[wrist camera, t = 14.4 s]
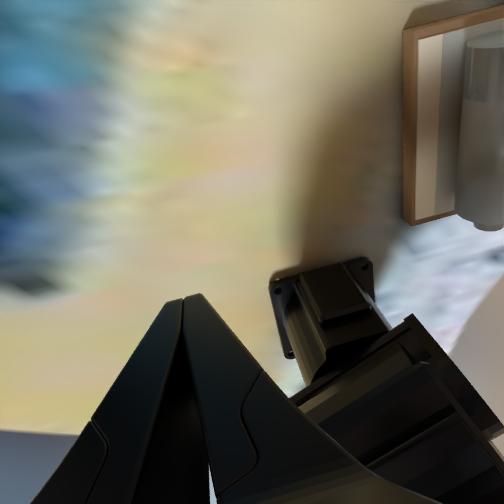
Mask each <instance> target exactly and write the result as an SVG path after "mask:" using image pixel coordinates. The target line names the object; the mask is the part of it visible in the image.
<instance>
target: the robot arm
mask: <svg viewBox="0 0 504 504" xmlns="http://www.w3.org/2000/svg"><path fill="white" fill-rule="evenodd" d="M363 264H366V265H365V266H363V267H361V266H362V265H363ZM276 288H280V289H279V290H278V291H274V290H275V289H276ZM269 294H270V298H271V302H272V307H273V311H274V315H275V319H276V324H277V328H278V332H279V336H280V341H281V345H282V349H283V353H284V356H285V358H287V359H294V358H296V360H297V363H298V366H299V368H300V371H301V374H302V377H303V379H304V382H305V385H306V387H305V388H304V389H302V390H301V391H299V392H298V393H296V394H295V395H293V396H292V397H290V398H288V397H287V396H286V395H285V394H284V393H283V391H282V390H281V389H280V388H279V387H278V386H277V385H276V384H275V382H274V381H273V380H272V379H271V378H270V376H269V375H268V374H267V373H266V372H265V371H264V369H263V368H262V367H261V366H260V364H259V363H258V362H257V361H256V359H255V358H254V357H253V356H252V355H251V353H250V352H249V351H248V350H247V348H246V347H245V346H244V345H243V344H242V342H241V341H240V340H239V339H238V337H237V336H236V335H235V334H234V332H233V331H232V330H231V329H230V328H229V326H228V325H227V324H226V323H225V321H224V320H223V319H222V318H221V317H220V315H219V314H218V313H217V312H216V310H215V309H214V308H213V307H212V306H211V304H210V303H209V302H208V301H207V299H206V298H205V297H204V296H203V295H202V294H201V293H198V294H194V295H191V296H187V297H185V298H184V299H182V298H180V299H176V300H173V301H169V302H167V303H165V305H164V306H163V308H162V309H161V311H160V312H159V314H158V315H157V317H156V318H155V320H154V321H153V323H152V325H151V326H150V328H149V329H148V331H147V332H146V334H145V335H144V337H143V338H142V340H141V341H140V343H139V345H138V346H137V348H136V349H135V351H134V352H133V354H132V355H131V357H130V358H129V360H128V362H127V363H126V365H125V366H124V368H123V369H122V371H121V372H120V374H119V375H118V377H117V379H116V380H115V382H114V383H113V385H112V386H111V388H110V389H109V391H108V392H107V394H106V396H105V397H104V399H103V400H102V402H101V403H100V405H99V406H98V408H97V409H96V411H95V412H94V414H93V416H92V417H91V421H89V422H88V423H87V425H86V426H85V428H84V429H83V431H82V432H81V434H80V435H79V437H78V438H77V440H76V441H75V443H74V444H73V446H72V447H71V449H70V450H69V452H68V453H67V455H66V456H65V457H64V459H63V461H62V462H61V463H60V465H59V466H58V467H57V469H56V470H55V471H54V473H53V474H52V475H51V477H50V478H49V480H48V481H47V482H46V484H45V485H44V486H43V488H42V489H41V490H40V492H39V493H38V494H37V496H36V497H35V498H34V500H33V501H32V502H31V503H30V504H210V490H209V467H210V472H211V477H212V482H213V487H214V492H215V496H216V499H217V504H504V457H503V456H502V454H501V453H500V452H499V450H498V449H497V447H496V446H495V445H494V443H493V442H492V441H491V440H493V439H494V438H496V437H498V436H500V435H501V434H503V433H504V426H503V424H502V423H501V422H500V420H499V419H498V418H497V416H496V415H495V414H494V413H493V412H492V410H491V409H490V407H489V406H488V405H487V404H486V402H485V401H484V400H483V399H482V397H481V396H480V395H479V394H478V392H477V391H476V390H475V389H474V387H473V386H472V385H471V383H470V382H469V381H468V380H467V379H466V377H465V376H464V375H463V374H462V372H461V371H460V370H459V369H458V367H457V366H456V365H455V364H454V362H453V361H452V360H451V359H450V358H449V356H448V355H447V354H446V353H445V352H444V350H443V349H442V348H441V347H440V346H439V344H438V343H437V342H436V341H435V340H434V338H433V337H432V336H431V335H430V334H429V332H428V331H427V330H426V329H425V328H424V326H423V325H422V324H421V323H420V322H419V320H418V319H417V318H416V317H415V316H414V314H413V313H412V314H411V315H409V316H408V317H406V318H405V319H404V322H402V323H401V324H399V325H398V326H396V327H395V328H392V327H391V325H390V324H389V323H388V321H387V320H386V318H385V317H384V316H383V314H382V313H381V311H380V310H379V309H378V307H377V306H376V304H375V300H374V281H373V264H372V262H371V261H370V259H369V258H368V257H360V258H356V259H352V260H349V261H345V262H342V263H337V264H334V265H330V266H326V267H323V268H319V269H316V270H312V271H308V272H305V273H302V274H298V275H295V276H291V277H288V278H284V279H280V280H277V281H274V282H272V283H271V284H270V285H269ZM290 351H292V352H290Z"/></svg>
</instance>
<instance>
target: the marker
mask: <svg viewBox="0 0 504 504" xmlns="http://www.w3.org/2000/svg"><path fill="white" fill-rule="evenodd" d="M454 210H455V212H456V213H457V214H458V215H459V216H460V217H462V218H463V219H466V220H468V221H471V222H474V226H475V227H476V228H477V229H479V230H483V231H497V230H500V229H502V228H503V227H504V30H500V31H495V32H491V33H487V34H483V35H479V36H476V37H474V38H471V39H470V40H468V41H467V49H466V62H465V75H464V87H463V100H462V113H461V126H460V139H459V152H458V164H457V177H456V190H455V203H454Z"/></svg>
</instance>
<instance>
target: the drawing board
mask: <svg viewBox="0 0 504 504" xmlns="http://www.w3.org/2000/svg"><path fill="white" fill-rule="evenodd" d="M500 30H504V5H500V6H496V7H492V8H488V9H484V10H480V11H476V12H472V13H468V14H464V15H460V16H457V17H453V18H449V19H445V20H441V21H437V22H433V23H429V24H425V25H421V26H417V27H413V28H409V29H405V30H403V219H404V220H405V221H406V222H407V223H408V224H409V225H410V226H415V225H419V224H422V223H426V222H430V221H433V220H437V219H440V218H444V217H448V216H451V215H455V214H457V213H456V212H455V210H454V203H455V190H456V177H457V164H458V152H459V139H460V126H461V113H462V100H463V87H464V75H465V62H466V49H467V41H468V40H470V39H471V38H474V37H476V36H479V35H483V34H487V33H491V32H495V31H500Z"/></svg>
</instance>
